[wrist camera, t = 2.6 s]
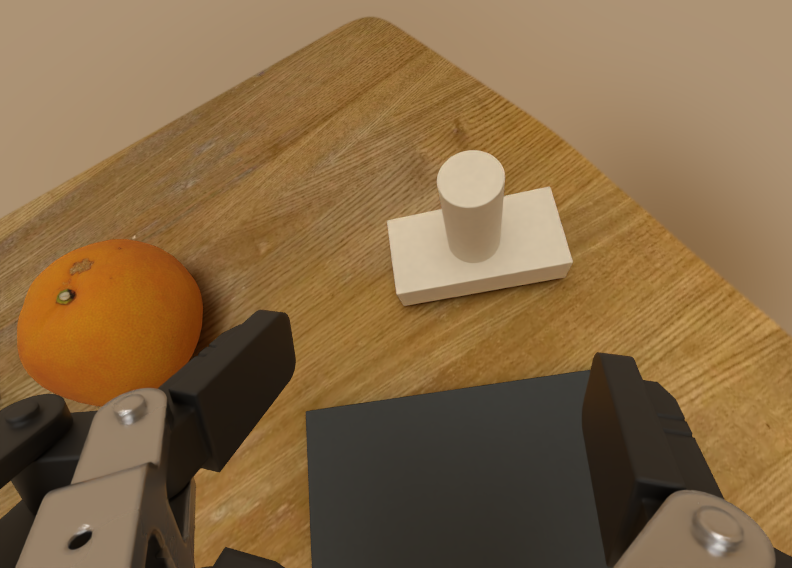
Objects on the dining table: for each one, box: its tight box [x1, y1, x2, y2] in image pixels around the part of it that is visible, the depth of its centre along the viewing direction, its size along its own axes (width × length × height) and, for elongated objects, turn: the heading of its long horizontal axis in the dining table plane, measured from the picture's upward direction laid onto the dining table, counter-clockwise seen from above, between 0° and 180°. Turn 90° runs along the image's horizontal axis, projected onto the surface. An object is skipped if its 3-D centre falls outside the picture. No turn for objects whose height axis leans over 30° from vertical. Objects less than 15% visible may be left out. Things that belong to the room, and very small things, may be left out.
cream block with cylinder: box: [387, 150, 573, 306], centre depth 23 cm, size 10×5×10 cm, turn 97°
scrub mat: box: [306, 370, 612, 568], centre depth 22 cm, size 18×14×1 cm
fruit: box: [17, 239, 203, 406], centre depth 26 cm, size 10×10×8 cm
